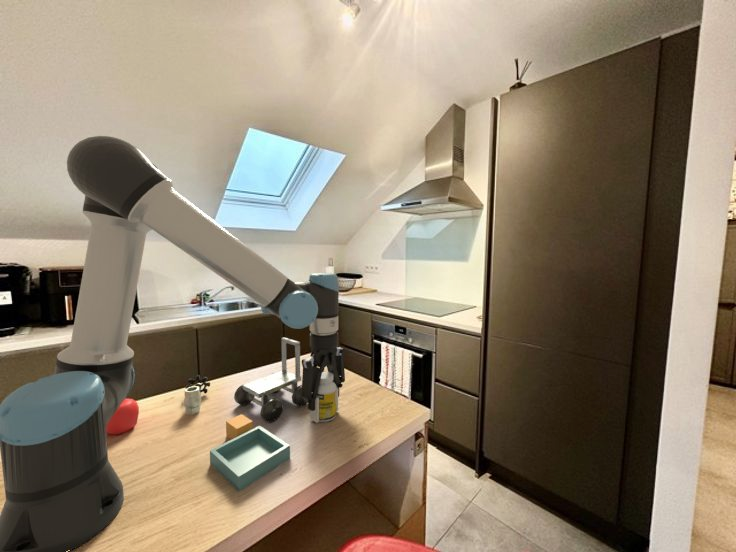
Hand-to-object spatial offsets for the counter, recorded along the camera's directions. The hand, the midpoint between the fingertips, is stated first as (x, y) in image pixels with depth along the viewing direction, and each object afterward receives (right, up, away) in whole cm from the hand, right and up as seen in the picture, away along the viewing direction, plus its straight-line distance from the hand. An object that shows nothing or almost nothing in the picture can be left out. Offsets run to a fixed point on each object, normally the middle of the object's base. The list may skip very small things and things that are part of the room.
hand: (324, 414), depth 82 cm
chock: (-19, -1, -9) cm, 21 cm away
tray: (-13, -2, -17) cm, 22 cm away
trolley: (-16, 0, +6) cm, 17 cm away
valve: (-38, 0, +5) cm, 38 cm away
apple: (-50, -1, -7) cm, 50 cm away
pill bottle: (0, -1, 0) cm, 1 cm away
